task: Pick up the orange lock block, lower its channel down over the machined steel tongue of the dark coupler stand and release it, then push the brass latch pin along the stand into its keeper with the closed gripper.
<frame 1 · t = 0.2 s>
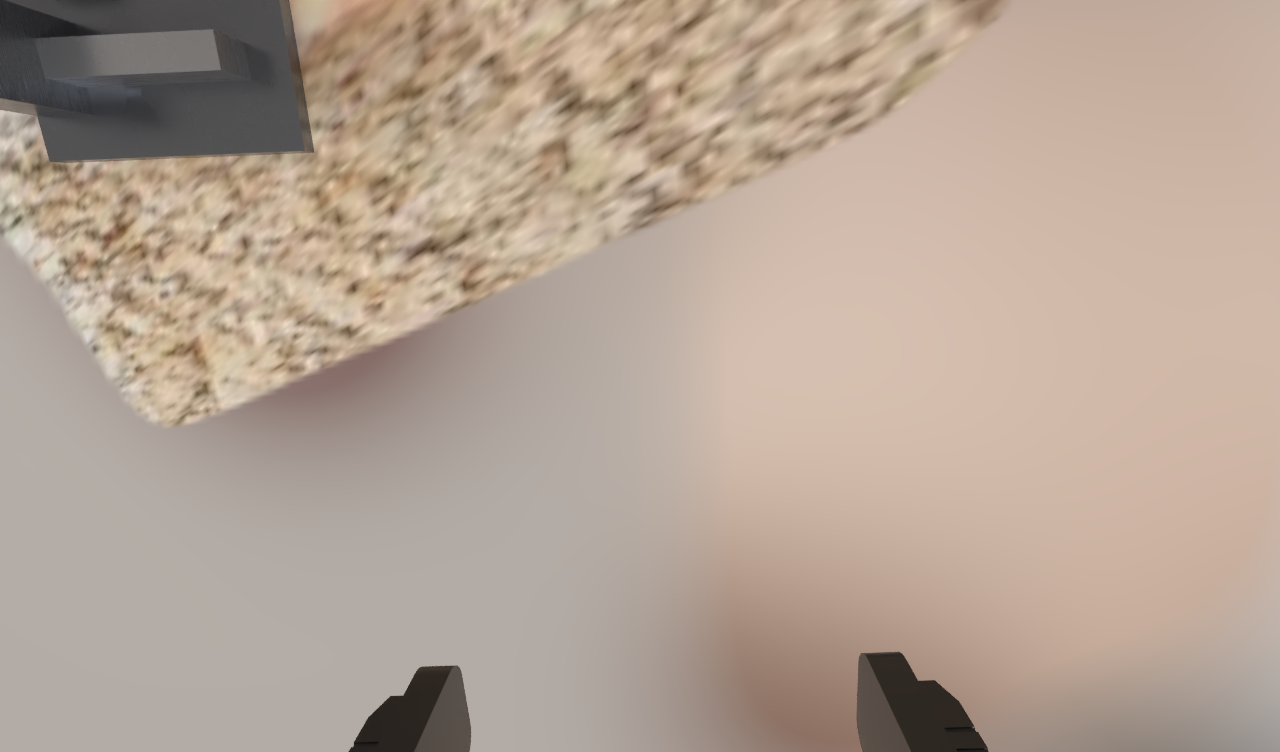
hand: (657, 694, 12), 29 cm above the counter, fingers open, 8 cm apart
coupler stand: (161, 32, 35), on the counter
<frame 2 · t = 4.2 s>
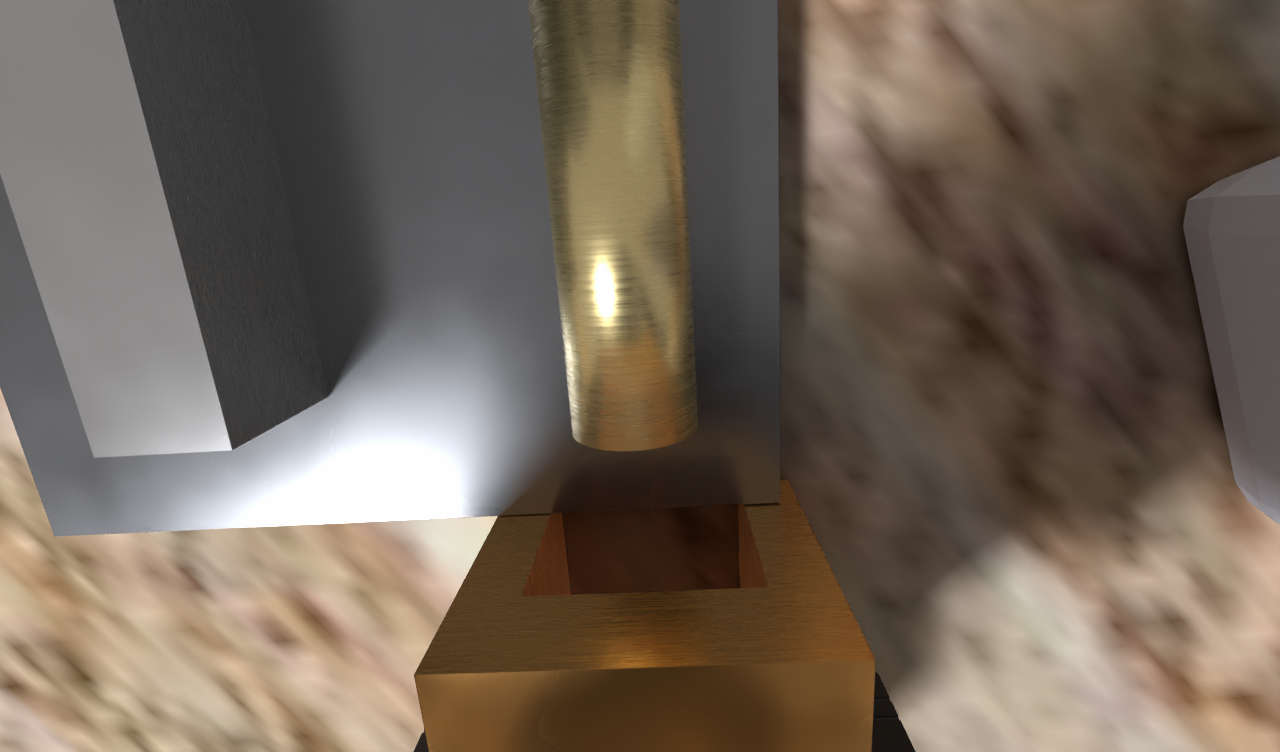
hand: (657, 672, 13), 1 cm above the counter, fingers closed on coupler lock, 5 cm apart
latch pin: (620, 234, 9), point 2 cm above the counter, slide at 0.0 cm
coupler stand: (351, 67, 10), on the counter
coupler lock: (658, 652, 13), on the counter, touching gripper
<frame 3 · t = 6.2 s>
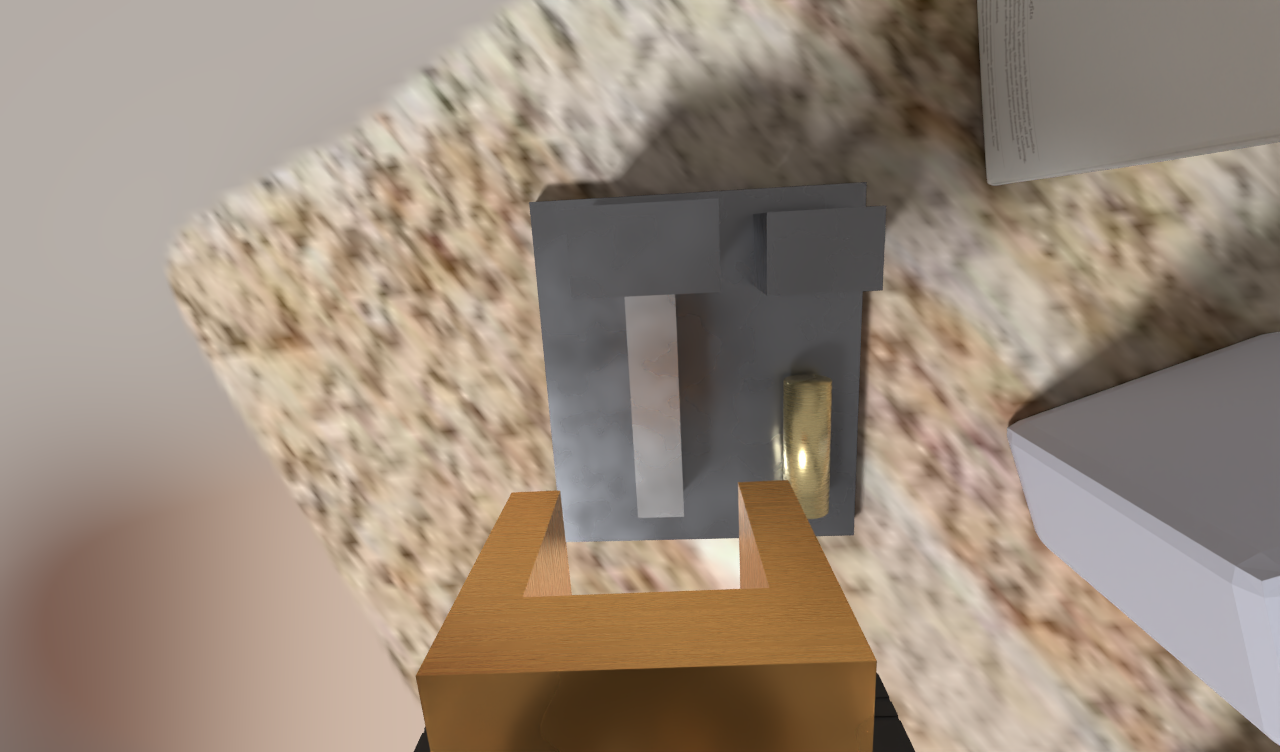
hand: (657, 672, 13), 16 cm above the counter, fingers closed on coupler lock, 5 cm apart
skincare box: (1049, 69, 24), on the counter
latch pin: (806, 446, 26), point 2 cm above the counter, slide at 0.0 cm
coupler stand: (699, 372, 28), on the counter
soap bottle: (1144, 436, 28), on the counter
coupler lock: (659, 652, 13), point 16 cm above the counter, touching gripper
when the fingers open (2 cm above the counter, at t = 8.6 s): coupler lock stays where it is, resting on coupler stand.
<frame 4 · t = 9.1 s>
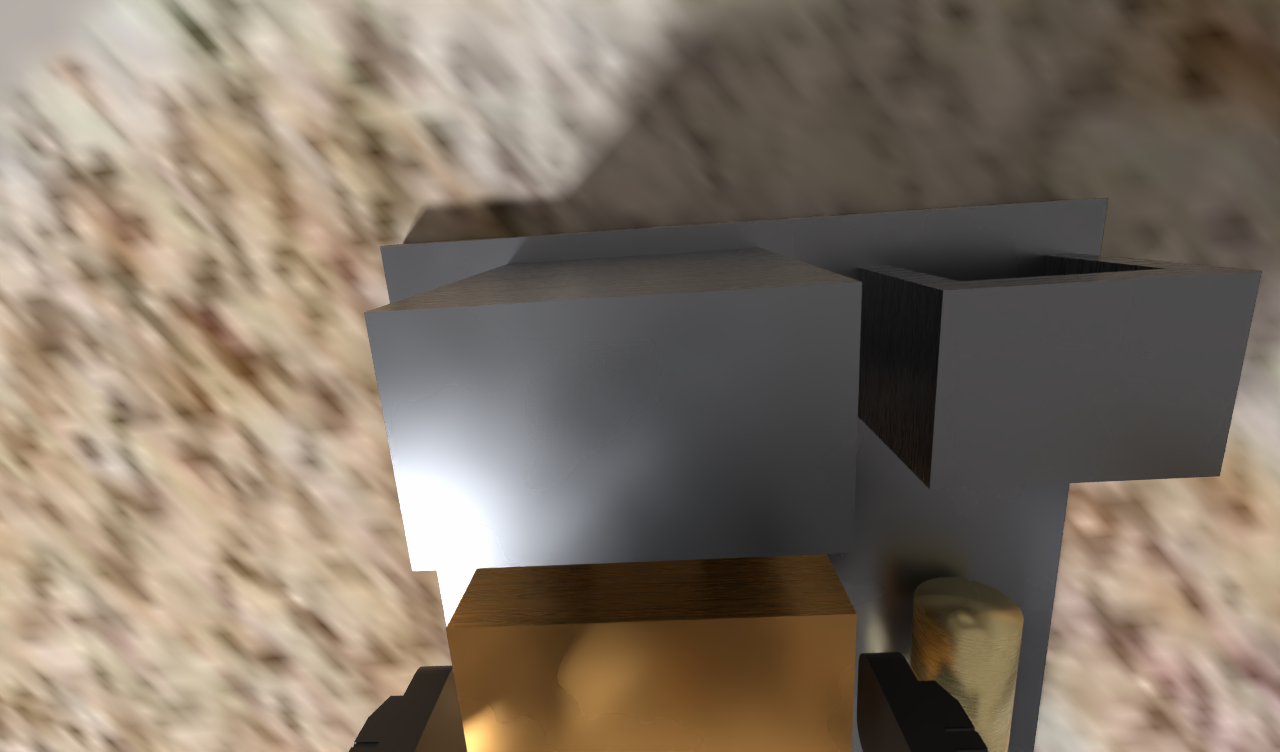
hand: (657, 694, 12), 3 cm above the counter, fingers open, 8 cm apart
latch pin: (956, 722, 13), point 2 cm above the counter, slide at 0.0 cm
coupler stand: (736, 559, 15), on the counter
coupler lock: (661, 626, 14), point 1 cm above the counter, touching coupler stand
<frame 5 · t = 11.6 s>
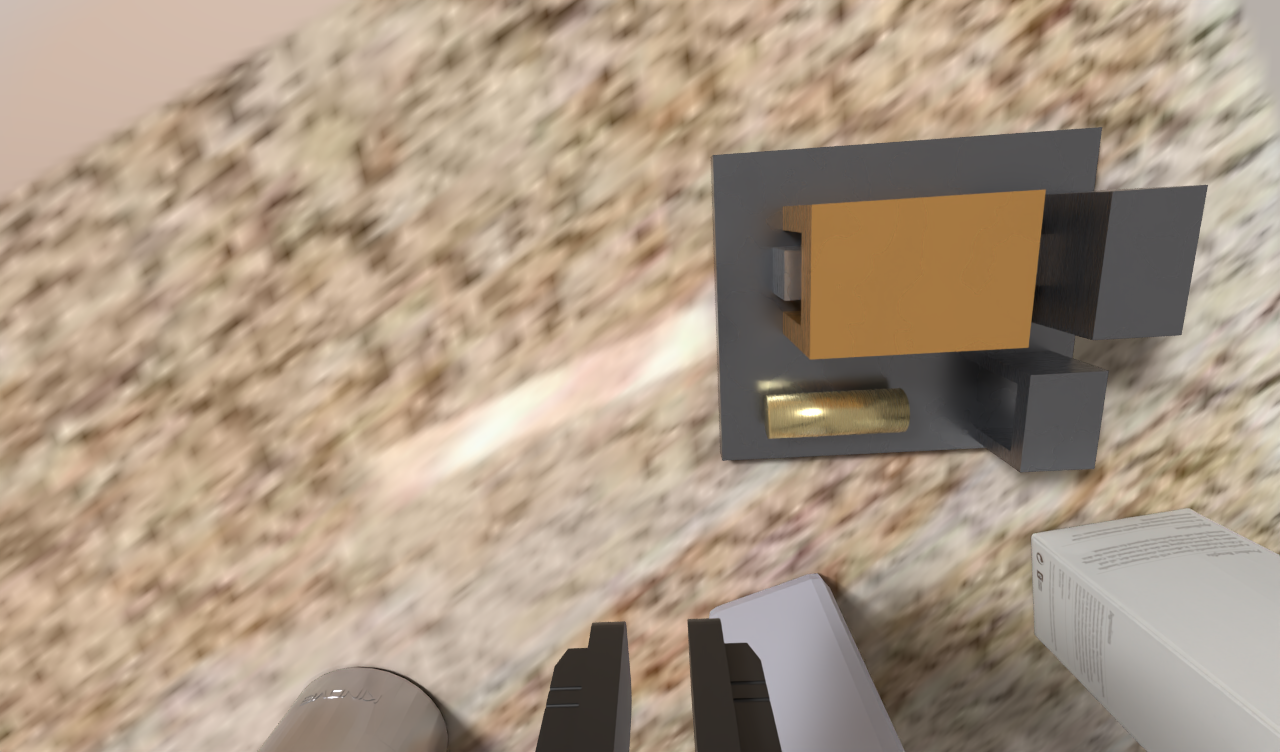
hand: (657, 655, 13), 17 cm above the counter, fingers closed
skincare box: (1107, 565, 31), on the counter
latch pin: (833, 413, 27), point 2 cm above the counter, slide at 0.0 cm
coupler stand: (888, 304, 28), on the counter
soap bottle: (798, 670, 33), on the counter
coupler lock: (874, 266, 26), point 1 cm above the counter, touching coupler stand
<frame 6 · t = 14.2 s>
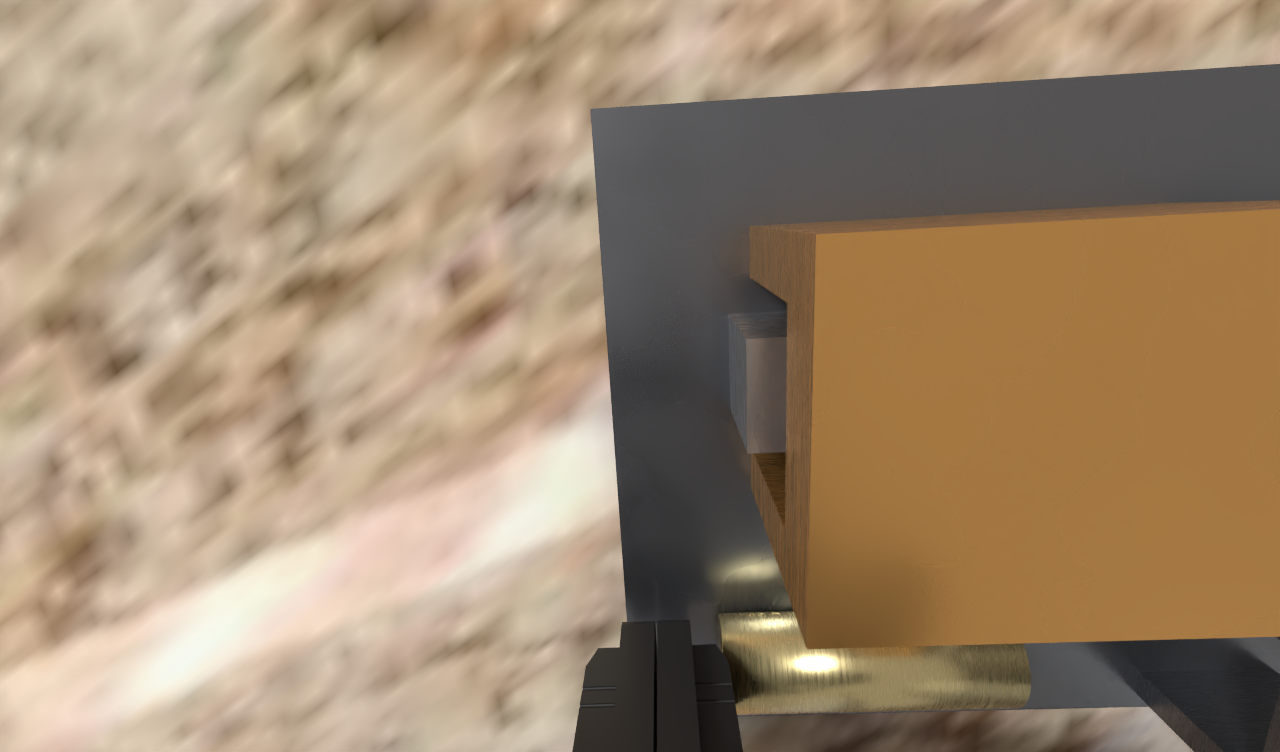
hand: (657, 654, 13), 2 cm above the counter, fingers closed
latch pin: (860, 658, 13), point 2 cm above the counter, slide at 0.1 cm, touching gripper
coupler stand: (967, 424, 14), on the counter
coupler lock: (947, 356, 12), point 1 cm above the counter, touching coupler stand
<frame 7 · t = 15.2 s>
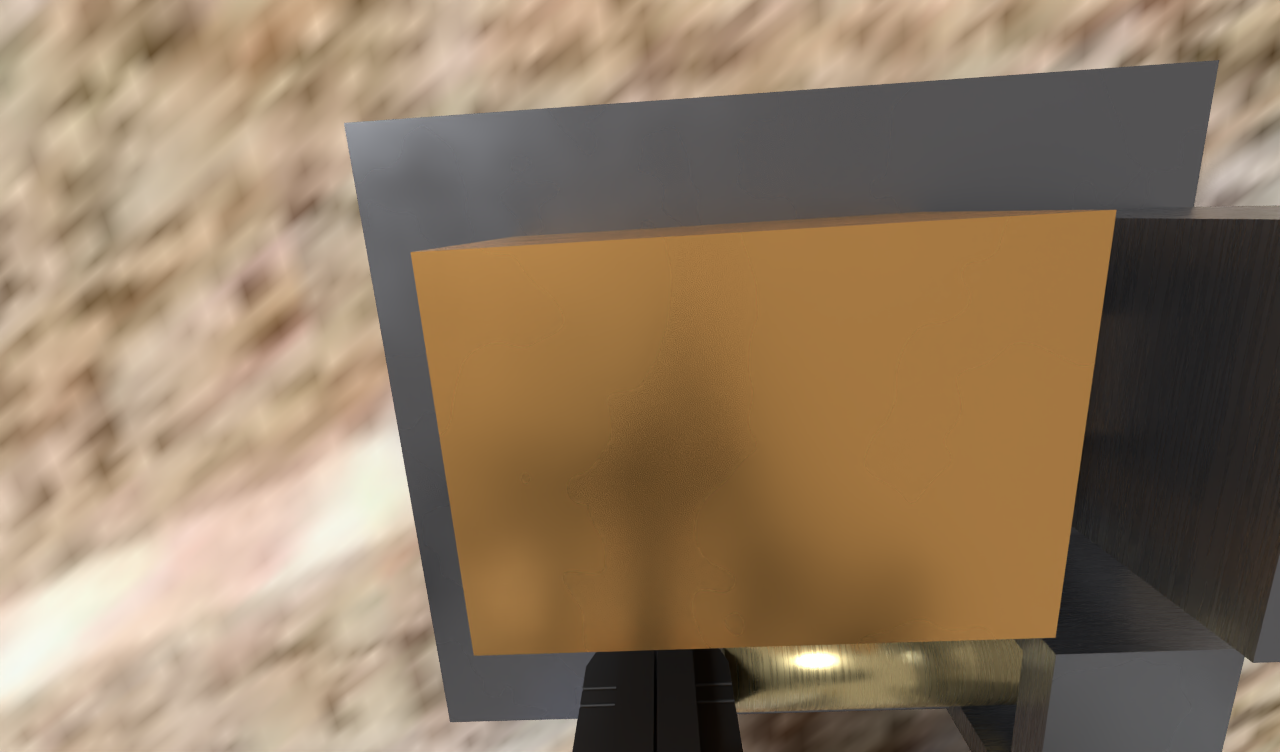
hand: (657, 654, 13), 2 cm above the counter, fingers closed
latch pin: (862, 655, 13), point 2 cm above the counter, slide at 4.8 cm, touching gripper
coupler stand: (761, 430, 14), on the counter
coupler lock: (717, 363, 12), point 1 cm above the counter, touching coupler stand
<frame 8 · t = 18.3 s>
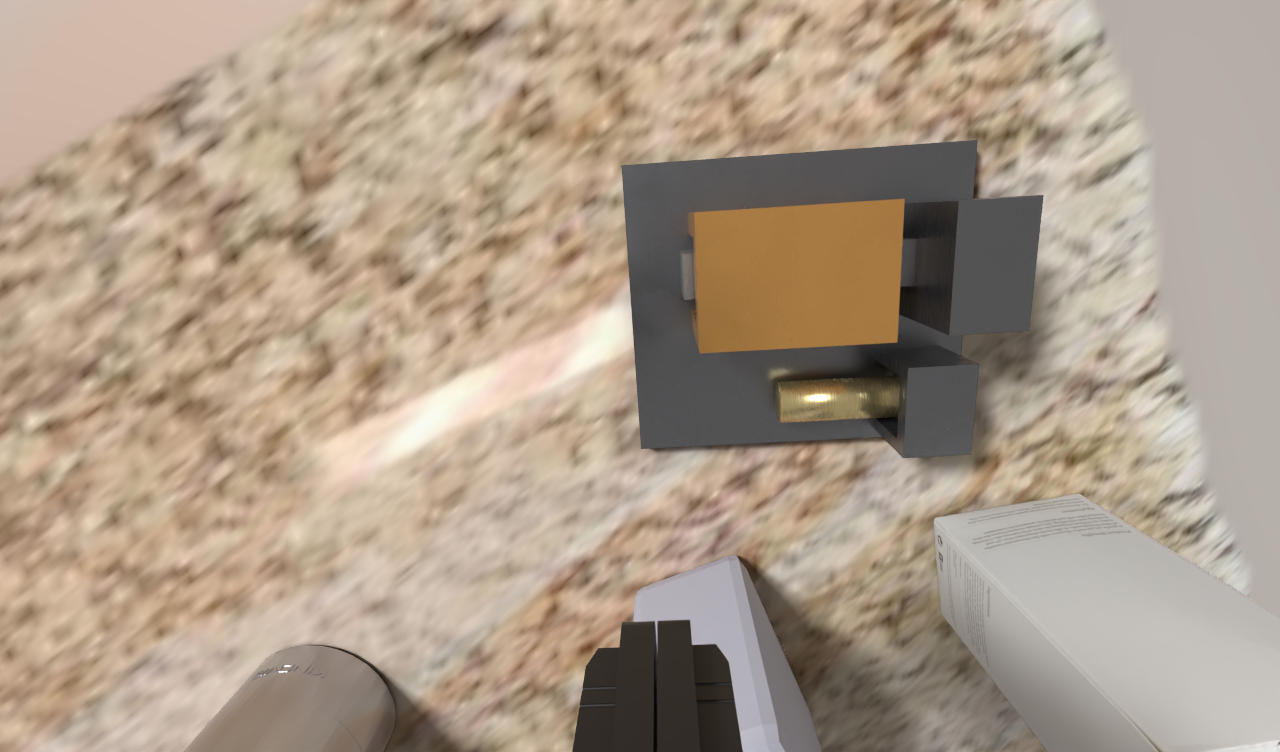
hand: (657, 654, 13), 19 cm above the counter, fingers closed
skincare box: (1007, 547, 33), on the counter
latch pin: (840, 399, 29), point 2 cm above the counter, slide at 4.9 cm
coupler stand: (792, 303, 30), on the counter
soap bottle: (723, 647, 36), on the counter
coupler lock: (774, 267, 28), point 1 cm above the counter, touching coupler stand
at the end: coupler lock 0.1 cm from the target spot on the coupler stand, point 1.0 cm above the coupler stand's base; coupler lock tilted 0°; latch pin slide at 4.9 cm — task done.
